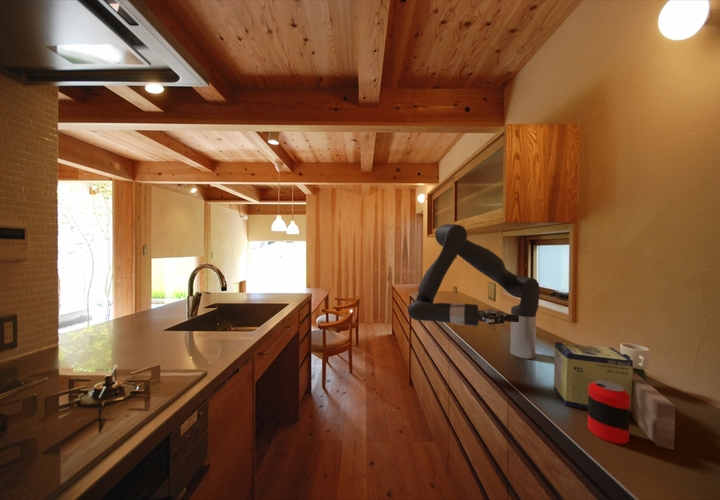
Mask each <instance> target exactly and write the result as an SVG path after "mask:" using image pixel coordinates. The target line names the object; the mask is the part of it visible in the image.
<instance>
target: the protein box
mask: <svg viewBox="0 0 720 500" xmlns="http://www.w3.org/2000/svg"><path fill="white" fill-rule="evenodd" d="M553 363H554V366H553V367H554V368H553V369H554V372H553V373H554V374H553V375H554V376H553V377H554V378H553V390H554V392H555V393H556V395H558V396H557V397H559V399H560V400H561V401H562V403H563V404H564V406H565V407H572V408H577V409H583V410H588V388H589V385H590V384H591V383H592V382H594V381H595V380H604V381H609V382H613V383H615V384H618V385H620V386H622V387H623V388H624V389H625V391H626V392H627V393H628V394H629V396H630V418H632V417H631V406H632V373H633V361H632V360H631V359H629V358H628V357H626V356H624V355H623V354H621V353H620V351H618V350H616V349H615V348H613V347H609V346H597V345H587V344H577V343H570V342H569V343H568V342H558V341H557V342H554V362H553Z"/></svg>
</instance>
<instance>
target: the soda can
mask: <svg viewBox="0 0 720 500" xmlns="http://www.w3.org/2000/svg"><path fill="white" fill-rule="evenodd" d="M630 418H631V417H630V396H629V394H628V393H627V392H626V391H625V389H624V388H623V387H622V386H620V385H618V384H615V383H613V382H609V381H604V380H595V381H594V382H592V383H591V384H590V385H589V388H588V409H587V428H588V430H589V431H590V432H591V433H592V434H593V435H594V436H596V437H597V438H599V439H601V440H603V441H605V442H609V443H612V444H614V445H615V444H616V445H624V444H627V443H628V442H629V441H630Z"/></svg>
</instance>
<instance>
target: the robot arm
mask: <svg viewBox="0 0 720 500" xmlns="http://www.w3.org/2000/svg"><path fill="white" fill-rule="evenodd" d="M434 232H435V233H434V236H435V240H436V242H437V244H439V245H440V246H441V247H442V248H441V251H440V253H439V255H438V256H437V258H436V259H435V260H434V262H433V263H432V264H431V265H430V266H429V267H428V269H427V270H426V272H425V274H424V275H423V277H422V279H421V282H420V284H419V286H418V289H417V290H418V291H417V292H418V294H417V296H416V298H415V300H414V301H413V302H411V303H409V305H408V308H407V314H408V315H409V317H410V318H411V319H413V320H414V321H424V322H430V321H431V322H439V323H447V324H449V323H450V324H455V325H460V326H471V327H473V326H474V327H478V326H479V322H483V323H485V324H488V325H490V326H491V325H500V324H502V325H503V324H505V323H507V322H508V323H509V322H510V347H509V348H510V352H509V353H510V354H511V355H513V356H515V357H516V358H520V359H521V358H522V359H528V360H529V359H535V358H536V344H537V343H536V342H537V341H536V339H537V337H536V335H537V330H536V329H537V311H538V309H539V304H540V291H541V290H540V288H541V287H540V284H539V282H538V280H537V279H536V278H534V277H528V276H527V277H526V276H520V275H516V274H514V273H513V272H511V271H510V270H508V269H507V268H506V264H505V262H504V260H503V259H502V258H501V257H500V256H498V255H497V254H495V252H493V251H491V250H490V249H488V248H486V247H484V246H482V245H480V244H477V243H475V242H473V241H470V240H468V239H467V238H468V234H467V233H468V232H467V230H466V228H465V226H463V225H460V224H456V223H454V224H453V223H446V224H442V225H440V226H438V227H437V228H436V229H435V231H434ZM457 256H458V257H460V258H461V259H463V260H464V261H465V262H466V263H468V264H469V265H470V266H472V267H473V268H474V269H476V271H478V272H480V273H481V274H483V275H484V276H487V277H488V278H489V279H490V280H492V281H494V282H495V283H497V284H498V285H499V286H500V287H501V288H502V289H503V290H505V291H506V292H507V293H508V294H510V295H511V296H513V297H514V298H519V299H520V303H519V304H516V305H513V306H511V308H510V309H511V310H510V313H505V312H504V311H502V310H496V309H491V308H486V309H485V308H484V309H482V310H479V305H478V304H476V303H472V304H471V303H460V302H459V303H446V302H437V303H436V302H434V300H435V298H436V296H437V294H438V292H439V289H440V286H441V284H442V283H443V280H444V279H445V276H446V274H447V273H448V271H449V269H450V267H451V266H452V265H453V262H454V261H455V259H456V257H457Z"/></svg>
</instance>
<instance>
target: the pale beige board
mask: <svg viewBox="0 0 720 500" xmlns="http://www.w3.org/2000/svg"><path fill="white" fill-rule="evenodd" d="M630 418H632V419H633V420H634V422H636V424H637V425H638V426H639V427H640V429H641V430H642V431H643V433H645V435H647V437H648V438H649V440H651V442H652V443H653V444H654V446H657V447H661V448H665V449H668V450H675V436H676V435H675V428H676V425H675V424H676V423H675V422H676V405H675V404H674V403H673V402H671V401H670V400H669V399H668V398H666V396H664V395H663V394H662V393H660V392H659V391H658V390H657V389H655V388H654V386H652V385H651V384H650V383H648V382H646V381H645V380H644V379H642V378H641V377H640V376H639V375H638V374H636V373H635V372H634V371H633V373H632V406H631V417H630Z"/></svg>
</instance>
